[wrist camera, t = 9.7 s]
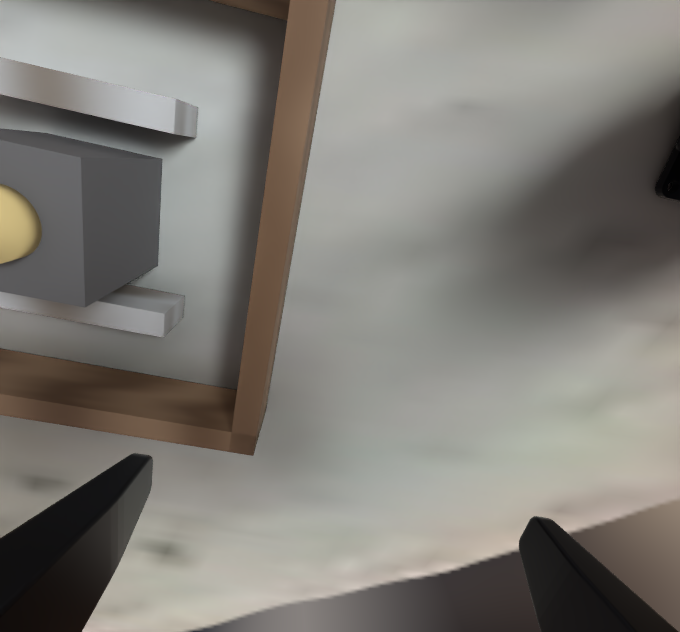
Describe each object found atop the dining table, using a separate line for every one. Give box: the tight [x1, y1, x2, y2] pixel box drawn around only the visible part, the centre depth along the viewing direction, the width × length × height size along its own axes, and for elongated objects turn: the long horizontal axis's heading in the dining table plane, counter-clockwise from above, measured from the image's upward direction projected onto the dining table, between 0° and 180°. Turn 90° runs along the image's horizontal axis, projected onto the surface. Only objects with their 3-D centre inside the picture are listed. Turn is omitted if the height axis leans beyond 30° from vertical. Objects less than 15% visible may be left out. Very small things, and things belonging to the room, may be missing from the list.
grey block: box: [0, 129, 162, 307], centre depth 15 cm, size 5×5×7 cm
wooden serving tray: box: [0, 0, 336, 456], centre depth 16 cm, size 18×20×4 cm
